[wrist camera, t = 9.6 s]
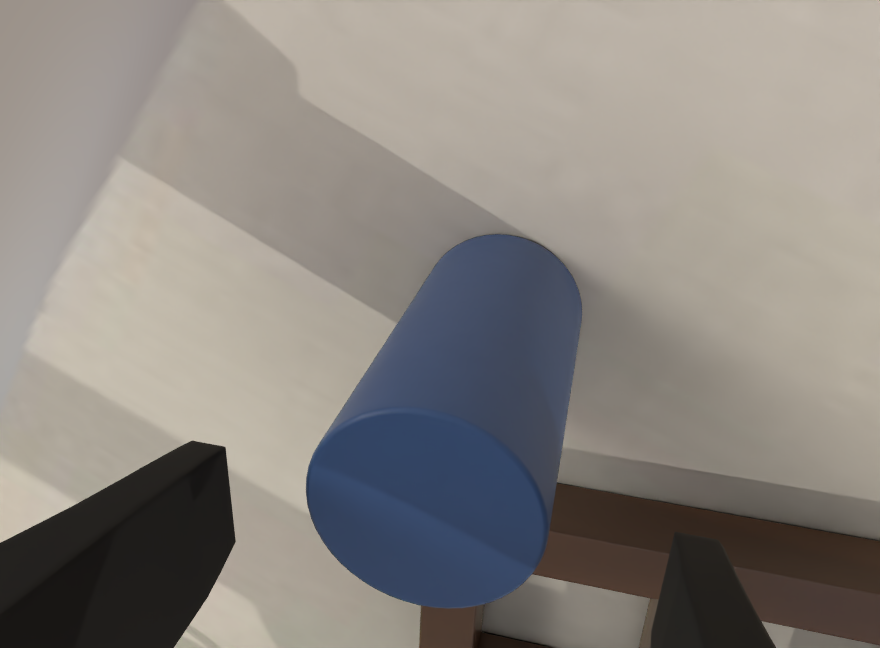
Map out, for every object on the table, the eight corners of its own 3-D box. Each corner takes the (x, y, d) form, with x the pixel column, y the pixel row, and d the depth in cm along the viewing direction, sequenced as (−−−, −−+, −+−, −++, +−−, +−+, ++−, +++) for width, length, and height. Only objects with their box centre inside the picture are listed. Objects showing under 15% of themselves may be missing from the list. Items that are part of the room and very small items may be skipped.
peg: (572, 388, 19) (534, 632, 12) (422, 365, 20) (308, 583, 13) (592, 244, 18) (562, 434, 11) (428, 224, 18) (298, 389, 11)
